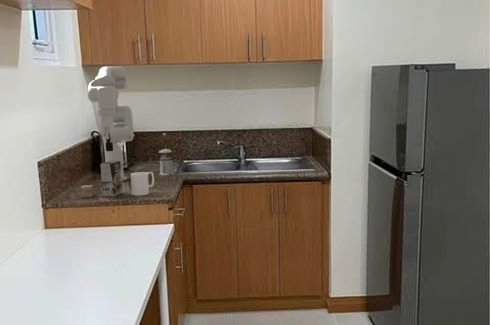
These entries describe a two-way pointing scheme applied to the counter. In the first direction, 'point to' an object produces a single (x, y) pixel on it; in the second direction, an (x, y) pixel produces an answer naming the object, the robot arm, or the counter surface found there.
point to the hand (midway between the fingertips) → (109, 150)
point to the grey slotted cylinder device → (166, 163)
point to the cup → (140, 183)
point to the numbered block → (87, 191)
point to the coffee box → (111, 178)
